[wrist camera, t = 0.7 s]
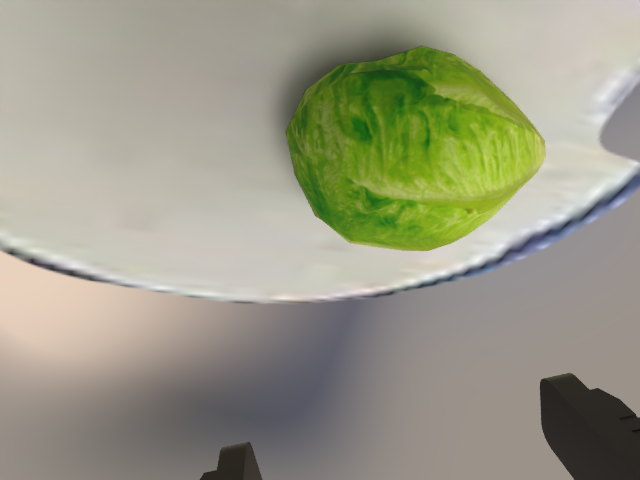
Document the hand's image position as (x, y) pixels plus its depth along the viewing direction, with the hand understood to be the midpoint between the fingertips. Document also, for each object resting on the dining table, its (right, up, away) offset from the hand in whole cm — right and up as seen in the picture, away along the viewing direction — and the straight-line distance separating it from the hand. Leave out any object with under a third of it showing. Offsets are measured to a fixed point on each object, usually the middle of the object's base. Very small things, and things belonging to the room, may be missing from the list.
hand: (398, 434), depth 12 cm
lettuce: (+5, +15, +27) cm, 31 cm away
